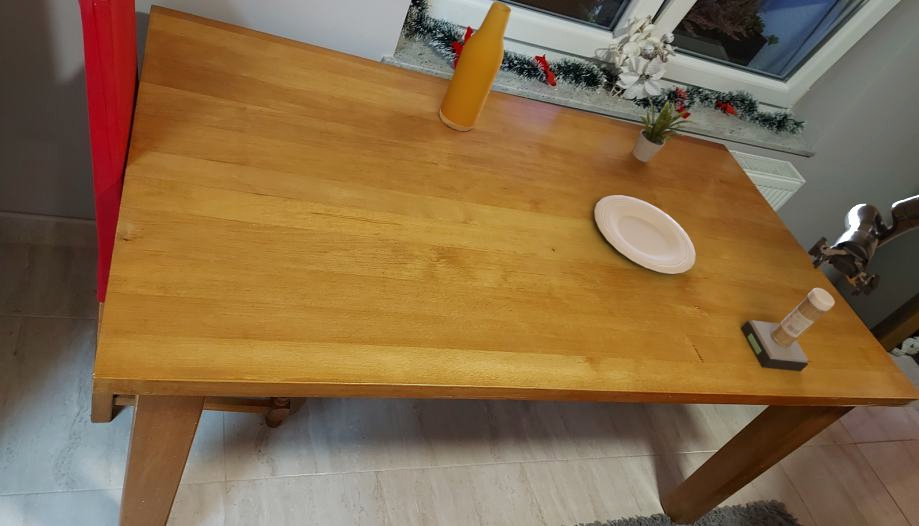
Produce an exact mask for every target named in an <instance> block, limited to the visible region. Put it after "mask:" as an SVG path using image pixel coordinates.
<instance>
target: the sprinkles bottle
mask: <svg viewBox="0 0 919 526" xmlns="http://www.w3.org/2000/svg"><path fill="white" fill-rule="evenodd" d="M835 302H836V301H835V299H834V297H833V296H832V295H831V293H829V292H828V291H827V290H825V289H824V288H821V287H815V288H813V289H811V291H809V292H808V294H807V295H806V297H805V298H804V299H803V300H802V301H800V303H798V305H797V306H795V308H793V310H792V311H790V312H789V313H788V314H787V315H786V316H785V317H784V318H783V319H782V320H781V322H780V323H778V324H779V325H778V326H777V327H776V328H775V329H773V330H772V331H771V336H772V338H773V340H774V341H775V342H776V343H777V344H779V345H781V346H783V347H790V346H791V344H792V343H793V342H794V341H795V340H796V341H797V340H798V339H799V338H800V337H801V336H803V335H804V333H806V332H807V331H808V330H809V329H810V328H811V327H812V326H813V324H815V322H816V321H818V320H819V319H820V318H821V317H822V316H823V315H824V314H825V313H827V312H829V311H830V310H831V309H832V308H833V307H834V305H835Z"/></svg>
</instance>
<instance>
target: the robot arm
mask: <svg viewBox="0 0 919 526" xmlns="http://www.w3.org/2000/svg"><path fill="white" fill-rule="evenodd" d="M890 215H891V221H892V224H891V225H890V226H889V225H887V223H886V221H885V219H884V217H883V214H882V212H881V211H880V209H879V208H878V207H877V205H874V204H872V203H860V204H857V205H855V206H854V207H852V208H850V209H849V210H848V211H847V213H846V214H845V217H844V220H843V233H842V234H841V235H840V236H839V237H838V239H837V240H835V243H834V245H831V246H830V244H828V242H827V241H828V239H827V238H826V237H824V236H822V237H820V239H818V241H816V242H815V243H814V244H813V245H812V247H811V248H810V249H809V250H808V251H807V254H808V255H809V256H811V257H814V259H813V260H812V261H811V265H813V266H812V268H813V269H814V270H817V269H818V268H819V267H820V266H821V265H822V264H823V265H824V266H831V267H832V268H834V269H835V270H837V271H838V272H839V273H842V274H843V275H844V276H845V277H846V279H847V281H848V283H849V284H852V285H853V288H852V290H851V292H850V295H851V297H855V296H856V297H859V296H860V295H861V294H862V293H863V294H864V295H865V296H867V297H869V296H870V295H871V294H872V293H873V292H874V291H875V290H877V289H878V287H879V284H880V281H881V276H880V275H879V274H878V273H874V274H871V273H870V272H868V269H867V267H868V265H869V264H870V262H871V260H872V258H873V257H874V254H875V252H876V251H875V250H876V249H877V248H879V247H882V246H883V245H885V244H886V243H888V242H890V241H892V240H894V239H895V238H897V237H899V236H901V235H903V234H905V233H908V232H910V231H913V230H917V229H919V194H917V195H913V196H911V197H908V198H904V199H901V200H898V201H896V202H893V204H892V205H891V207H890Z"/></svg>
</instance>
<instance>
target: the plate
mask: <svg viewBox="0 0 919 526" xmlns="http://www.w3.org/2000/svg"><path fill="white" fill-rule="evenodd" d="M593 214H594V221H595V224H596V226H597V229H598V230H599V232H600V233H601V235H602V236H603V237H604V239H605V240H606V242H608V244H609V245H610V246H611V247H612V248H614V249H615V250H616V251H617V252H618V253H619V254H620V255H622V256H624V257H625V258H626V259H628V260H629V261H630V262H631V263H632V262H633V263H634V264H636V265H638V266H640V267H642V268H644V269H647V270H649V271H653V272H656V273H659V274H665V275H680V274H684V273H686V272H688V271H689V270H691V269H692V267H693V266H694V264H695V263H696V255H697V254H696V250H695V247H694V244H693V242H692V241H691V238H690V237H689V235H688V233H687V232H686V231H685V230H684V228H683V227H682V226H681V225H680V224H679V223H678V222H677V221H676V220H674V219H673V218H672V217H671V215H669V214H667V213H666V212H664V211H663V210H661V209H660V208H658V207H656V206H655V205H654V204H650V203H649V202H647V201H645V200H642V199H639V198H637V197H633V196H628V195H622V194H620V195H619V194H615V195H613V194H612V195H611V194H610V195H607V196H605V197H604V196H603V197H602V198H601V199H600V200H599V201H597V202H596V204H595V207H594V209H593Z"/></svg>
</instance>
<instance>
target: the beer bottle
mask: <svg viewBox="0 0 919 526" xmlns="http://www.w3.org/2000/svg"><path fill="white" fill-rule="evenodd" d="M511 13H512V8H510V6H508V5H507V4H505V3H503V2H500V1H493V2H492V4H491V5H490V7H489V9H488V11H487V12H486V15H485V17H484V19H483V20H482V23H481V24H480V26H479V28H478V29H477V30H476V31H475V32H474V33H472V34H471V36H469V37H468V39H467V40H466V41H465V43H464V45H463V47H462V50H461V51H460V55H459V58H458V61H457V62H456V66H455V68H454V71H453V74H452V76H451V79H450V82H449V84H448V87H447V89H446V93H445V94H444V98H443V100H442V102H441V105H440V107H441V108H440V107H439V110H440V109H441V112H442V114H443V115H444V116H445V117H446V118H447V119H448V120H450V121H451V122H453V123H455V124H457V125H461V126H464V127H471V126H474V125H475V124H476V125H477V123H478V121H479V118H480V116H481V113H482V111H483V108H484V106H485V104H486V101H487V99H488V96H489V94H490V92H491V90H492V87H493V85H494V82H495V80H496V77H497V75H498V73H499V71H500V69H501V66H502V63H503V60H504V55H505V54H504V52H505V48H504V46H505V45H504V38H505V33H506V29H507V27H508V23H509V20H510V17H511ZM476 125H475V126H476Z"/></svg>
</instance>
